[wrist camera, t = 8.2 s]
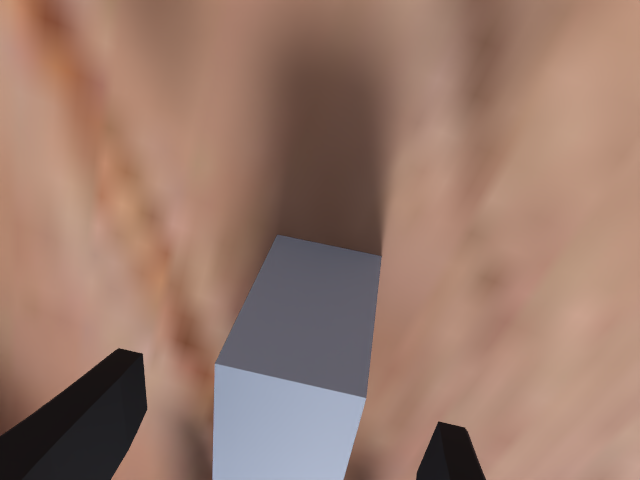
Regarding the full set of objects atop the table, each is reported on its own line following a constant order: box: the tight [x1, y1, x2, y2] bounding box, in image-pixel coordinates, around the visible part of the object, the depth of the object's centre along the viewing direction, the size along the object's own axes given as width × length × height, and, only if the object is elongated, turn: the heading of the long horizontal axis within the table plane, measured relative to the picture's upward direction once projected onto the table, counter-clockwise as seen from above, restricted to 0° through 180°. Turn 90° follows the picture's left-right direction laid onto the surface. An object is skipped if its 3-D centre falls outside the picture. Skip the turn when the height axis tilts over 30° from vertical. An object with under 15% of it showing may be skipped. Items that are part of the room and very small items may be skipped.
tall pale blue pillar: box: [212, 235, 382, 480], centre depth 16 cm, size 4×12×6 cm, turn 173°
